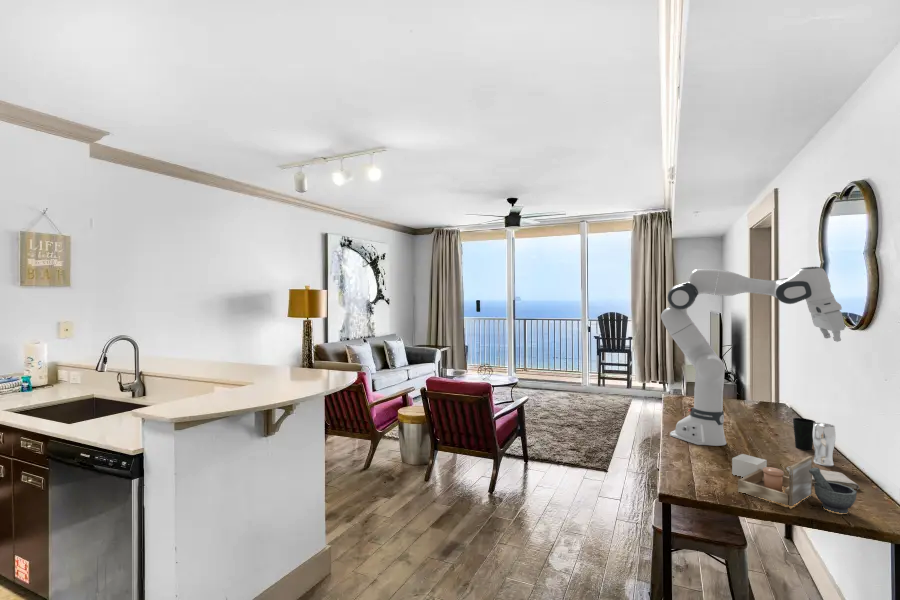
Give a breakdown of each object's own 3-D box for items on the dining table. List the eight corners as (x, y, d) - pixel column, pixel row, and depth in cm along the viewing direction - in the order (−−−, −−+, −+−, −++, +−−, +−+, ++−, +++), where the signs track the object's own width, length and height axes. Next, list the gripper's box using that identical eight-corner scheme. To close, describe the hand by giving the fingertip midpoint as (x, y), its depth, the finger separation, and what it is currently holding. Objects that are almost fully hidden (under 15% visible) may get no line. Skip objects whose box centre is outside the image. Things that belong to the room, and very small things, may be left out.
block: (732, 474, 167) (732, 458, 167) (742, 469, 172) (742, 453, 172) (756, 481, 160) (757, 464, 160) (766, 476, 165) (766, 460, 165)
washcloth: (784, 472, 171) (784, 463, 171) (843, 478, 165) (843, 470, 165) (796, 484, 160) (796, 475, 160) (860, 492, 154) (860, 482, 154)
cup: (819, 452, 192) (819, 423, 192) (798, 450, 193) (798, 422, 193) (808, 446, 199) (809, 418, 199) (788, 444, 201) (789, 417, 201)
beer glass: (826, 467, 174) (826, 427, 174) (807, 461, 181) (808, 423, 181) (839, 465, 176) (840, 426, 176) (820, 459, 183) (821, 421, 183)
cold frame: (737, 492, 152) (738, 453, 152) (759, 480, 162) (760, 443, 162) (791, 509, 140) (792, 467, 140) (811, 495, 150) (812, 456, 150)
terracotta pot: (759, 490, 152) (759, 469, 152) (766, 486, 155) (767, 465, 155) (779, 496, 147) (779, 474, 147) (786, 492, 151) (786, 471, 151)
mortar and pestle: (852, 508, 141) (853, 469, 141) (859, 521, 133) (860, 479, 133) (806, 499, 147) (807, 462, 147) (810, 511, 139) (811, 471, 139)
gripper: (803, 306, 194) (813, 337, 194) (823, 309, 175) (834, 345, 174) (820, 302, 192) (830, 334, 191) (842, 305, 173) (854, 341, 172)
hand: (832, 339), depth 183 cm, fingers open, 8 cm apart
